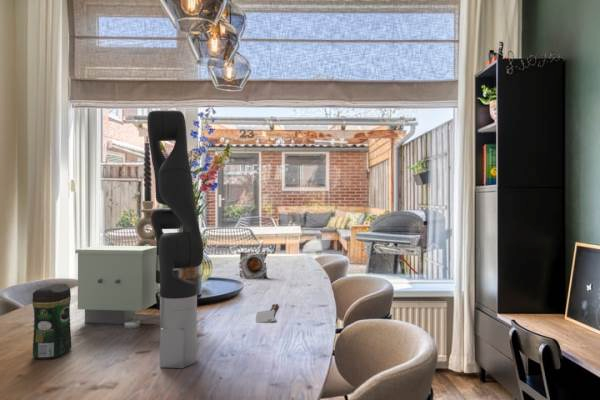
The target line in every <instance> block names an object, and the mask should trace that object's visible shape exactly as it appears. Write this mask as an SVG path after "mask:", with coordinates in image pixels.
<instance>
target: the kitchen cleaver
mask: <svg viewBox="0 0 600 400" xmlns="http://www.w3.org/2000/svg"><path fill="white" fill-rule="evenodd" d="M270 308H271V309H269V310H262V311H257V313H256V315H255V324H257V323H258V324H259V323H262V324H263V323H264V324H266V323H269V324H271V323H277V319H276V318H275V314H276V313H277V310H278V308H279V303H274V304H272V306H271V307H270Z"/></svg>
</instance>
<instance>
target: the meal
mask: <svg viewBox="0 0 600 400" xmlns="http://www.w3.org/2000/svg"><path fill="white" fill-rule="evenodd" d="M239 254H240V256H239V258H240V259H239V262H238V267H239V277H240V278H246V279H256V278H258V279H260V278H261V279H262V278H263V279H268V274H267V269H268V268H267V262H265V261H266V258H267V256H268V253H253V254H252V253H251V252H240V253H239Z"/></svg>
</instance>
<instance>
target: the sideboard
mask: <svg viewBox="0 0 600 400" xmlns="http://www.w3.org/2000/svg"><path fill="white" fill-rule="evenodd" d="M75 254H77V310H84V323H86V324H89V323H91V324H93V323H94V324H117V325H118V324H119V325H120V324H122V325H124V321H126V320H129V319H133V314H136V312H143V311H145V310H146V309H148V308H150V307H152V306H153V305H155V304H157V302H156V293H158V283H156V256H157V245H154V246H153V245H93V246H92V245H91V246H87V247H83V248H77V249H75Z"/></svg>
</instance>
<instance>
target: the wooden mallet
mask: <svg viewBox="0 0 600 400" xmlns="http://www.w3.org/2000/svg"><path fill="white" fill-rule="evenodd" d="M158 311H159V313H158V314H150V313H149V314H147V313H146V314H144V313H135V314H133V319H140V324H148V325H149V324H150V325H151V324H152V325H153V324H155V325H159V326H160V310H158Z"/></svg>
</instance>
